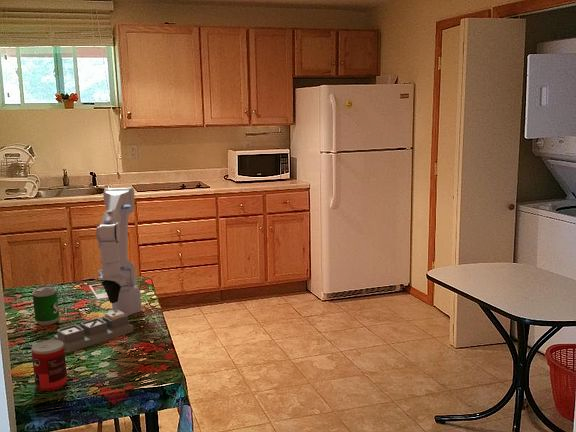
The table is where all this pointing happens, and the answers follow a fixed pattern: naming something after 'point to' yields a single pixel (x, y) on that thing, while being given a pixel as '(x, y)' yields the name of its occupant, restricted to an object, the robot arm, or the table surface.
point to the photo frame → (99, 296)
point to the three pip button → (93, 323)
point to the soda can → (45, 305)
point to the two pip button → (114, 315)
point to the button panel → (93, 332)
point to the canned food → (49, 365)
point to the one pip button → (70, 330)
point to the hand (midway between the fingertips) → (113, 302)
